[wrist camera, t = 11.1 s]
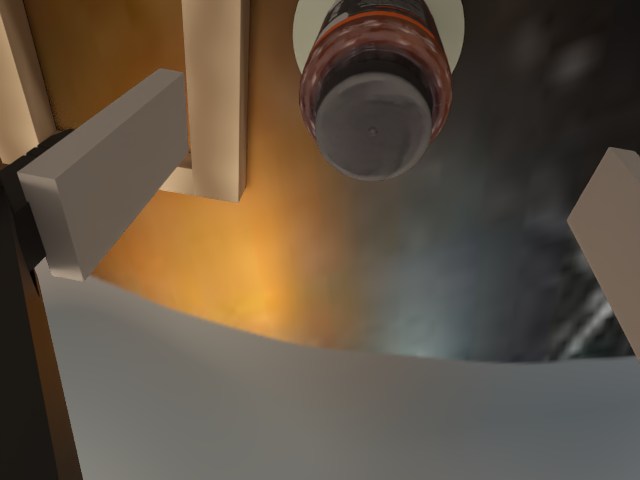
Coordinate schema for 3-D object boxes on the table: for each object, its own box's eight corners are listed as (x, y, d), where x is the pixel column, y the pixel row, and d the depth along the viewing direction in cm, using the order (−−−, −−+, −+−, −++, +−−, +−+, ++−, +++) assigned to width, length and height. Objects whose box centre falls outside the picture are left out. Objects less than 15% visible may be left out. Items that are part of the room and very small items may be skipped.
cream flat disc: (488, -47, 21) (490, -45, 21) (435, 128, 27) (435, 132, 27) (303, -77, 22) (301, -76, 21) (288, 103, 27) (286, 107, 27)
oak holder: (251, -48, 23) (241, -44, 21) (245, 187, 31) (238, 203, 30) (-59, -99, 23) (-92, -98, 21) (21, 149, 32) (2, 163, 30)
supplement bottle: (309, -7, 23) (260, 59, 14) (428, -40, 21) (458, 12, 13) (335, 105, 26) (310, 215, 17) (440, 83, 25) (470, 192, 16)
